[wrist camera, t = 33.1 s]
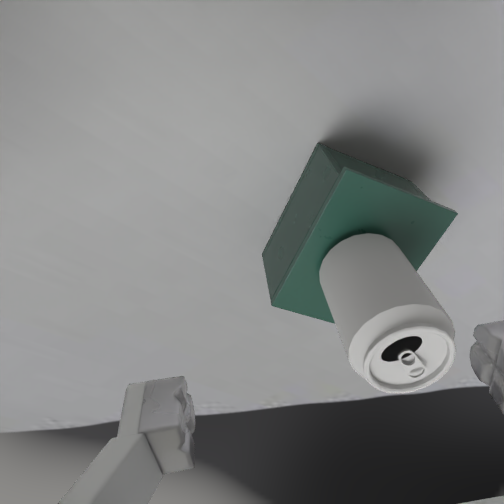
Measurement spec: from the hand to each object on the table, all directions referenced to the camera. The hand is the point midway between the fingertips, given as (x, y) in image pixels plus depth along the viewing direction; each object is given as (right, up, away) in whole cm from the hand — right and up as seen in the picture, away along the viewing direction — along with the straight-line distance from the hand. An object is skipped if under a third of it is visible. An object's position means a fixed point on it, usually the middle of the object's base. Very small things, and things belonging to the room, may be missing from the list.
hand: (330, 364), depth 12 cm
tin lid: (+7, +3, +27) cm, 28 cm away
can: (+7, +2, +27) cm, 28 cm away
